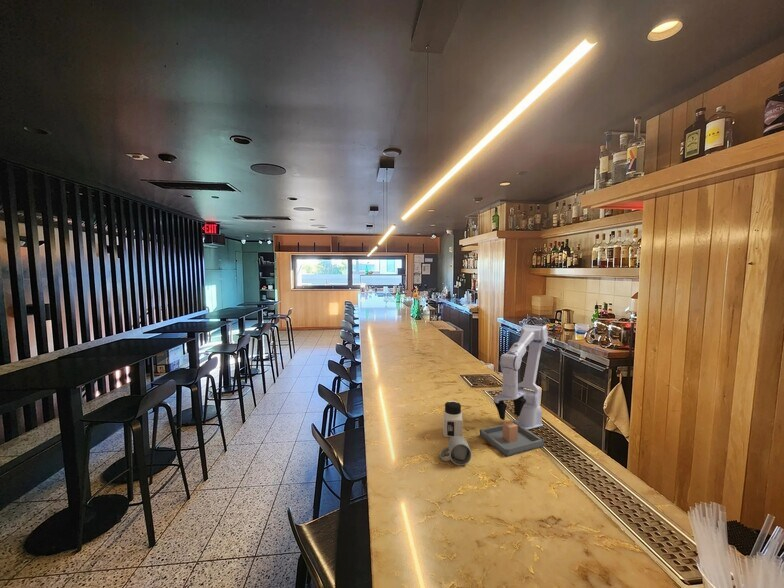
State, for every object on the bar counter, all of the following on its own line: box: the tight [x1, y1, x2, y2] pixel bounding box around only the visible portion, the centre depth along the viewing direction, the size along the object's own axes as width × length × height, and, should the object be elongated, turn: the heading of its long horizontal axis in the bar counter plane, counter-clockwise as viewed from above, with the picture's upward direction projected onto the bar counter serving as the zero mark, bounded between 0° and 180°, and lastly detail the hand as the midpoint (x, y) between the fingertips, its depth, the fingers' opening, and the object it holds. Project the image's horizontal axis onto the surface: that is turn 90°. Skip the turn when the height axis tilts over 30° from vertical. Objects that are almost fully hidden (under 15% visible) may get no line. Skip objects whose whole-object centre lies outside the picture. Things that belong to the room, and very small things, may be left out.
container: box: [442, 400, 464, 438], centre depth 131 cm, size 8×8×13 cm
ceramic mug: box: [439, 435, 472, 466], centre depth 113 cm, size 11×8×8 cm
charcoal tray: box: [479, 421, 545, 458], centre depth 124 cm, size 18×16×2 cm
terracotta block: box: [502, 421, 518, 442], centre depth 124 cm, size 4×4×6 cm
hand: (509, 417), depth 125 cm, fingers open, 7 cm apart
